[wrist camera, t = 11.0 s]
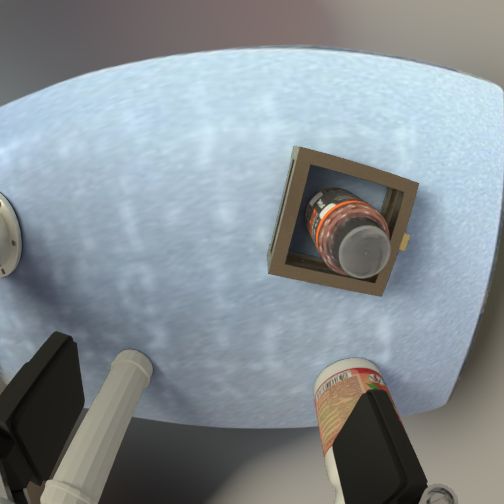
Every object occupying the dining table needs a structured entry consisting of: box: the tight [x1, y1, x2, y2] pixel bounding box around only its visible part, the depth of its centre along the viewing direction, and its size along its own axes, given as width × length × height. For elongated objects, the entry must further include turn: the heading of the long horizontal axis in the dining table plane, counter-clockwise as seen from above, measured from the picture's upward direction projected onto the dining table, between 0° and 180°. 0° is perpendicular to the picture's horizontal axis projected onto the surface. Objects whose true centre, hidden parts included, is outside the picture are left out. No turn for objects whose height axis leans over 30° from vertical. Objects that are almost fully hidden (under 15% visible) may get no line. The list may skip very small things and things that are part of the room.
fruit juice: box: [314, 358, 408, 504], centre depth 26 cm, size 9×9×28 cm
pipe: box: [40, 349, 153, 504], centre depth 25 cm, size 6×6×30 cm
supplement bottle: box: [305, 188, 391, 279], centre depth 27 cm, size 6×6×11 cm
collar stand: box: [267, 146, 419, 297], centre depth 29 cm, size 12×11×5 cm
